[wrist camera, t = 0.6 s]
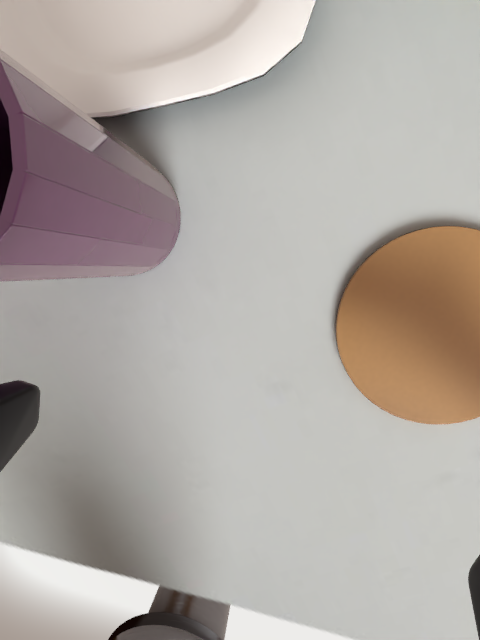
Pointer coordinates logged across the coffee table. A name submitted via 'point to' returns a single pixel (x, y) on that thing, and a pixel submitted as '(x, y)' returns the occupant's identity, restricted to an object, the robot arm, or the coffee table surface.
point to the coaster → (416, 326)
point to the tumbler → (74, 190)
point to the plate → (149, 47)
